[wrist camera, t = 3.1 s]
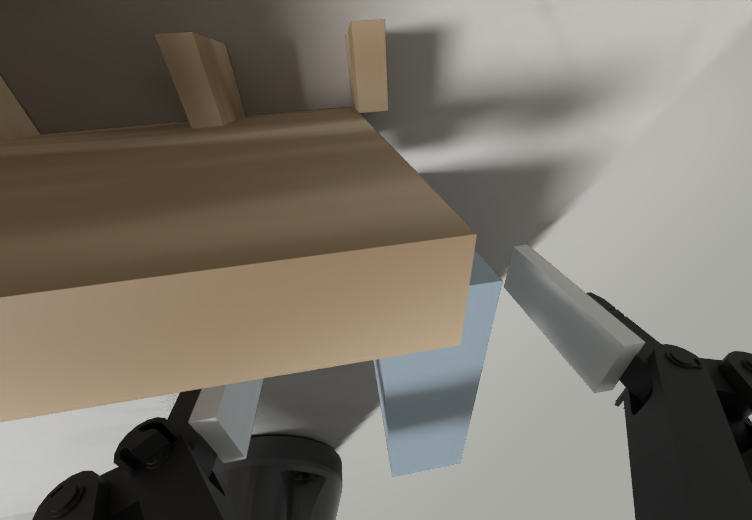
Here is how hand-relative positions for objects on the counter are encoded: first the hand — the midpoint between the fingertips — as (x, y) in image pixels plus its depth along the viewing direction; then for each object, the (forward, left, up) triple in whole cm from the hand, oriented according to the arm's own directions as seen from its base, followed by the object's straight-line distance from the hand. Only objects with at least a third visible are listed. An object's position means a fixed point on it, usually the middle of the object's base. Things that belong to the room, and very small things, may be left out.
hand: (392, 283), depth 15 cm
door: (0, 0, -2) cm, 2 cm away
